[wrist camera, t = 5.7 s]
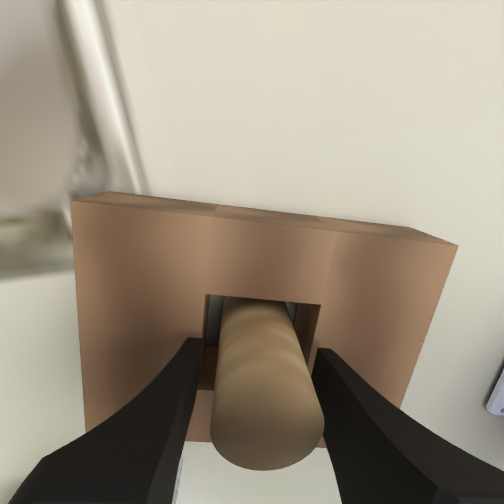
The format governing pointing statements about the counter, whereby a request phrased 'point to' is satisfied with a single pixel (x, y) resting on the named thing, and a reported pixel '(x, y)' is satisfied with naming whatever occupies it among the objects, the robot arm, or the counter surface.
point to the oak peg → (262, 388)
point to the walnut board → (243, 291)
